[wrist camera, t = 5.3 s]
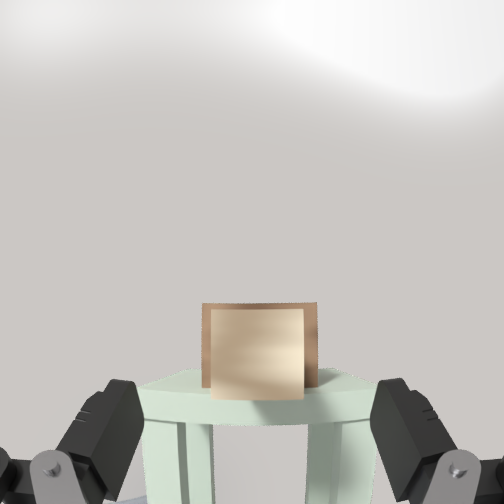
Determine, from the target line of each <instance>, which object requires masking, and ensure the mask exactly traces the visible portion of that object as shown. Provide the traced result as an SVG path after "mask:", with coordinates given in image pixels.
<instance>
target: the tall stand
mask: <svg viewBox="0 0 504 504" xmlns="http://www.w3.org/2000/svg"><path fill="white" fill-rule="evenodd" d="M376 389H377V384H374V383H372V382H369V381H366V380H363V379H360V378H358V377H355V376H352V375H350V374H347V373H344V372H341V371H339V370H337V369H334V368H328V369H327V368H326V369H318V387H316V388H304V399H299V400H213V399H211V388H202V370H199V369H187V370H184V371H181V372H179V373H176V374H173V375H171V376H168V377H165V378H162V379H160V380H157V381H154V382H151V383H148V384H146V385H143V386H140V387H137V392H138V395H139V399H140V403H141V406H142V410H143V413H144V429H143V432H142V435H141V436H142V450H143V463H144V474H145V483H146V492H147V501H148V504H215V487H214V486H215V485H214V458H213V457H214V456H213V424H216V425H217V424H218V425H299V424H308V450H307V475H306V495H305V504H371V498H372V491H373V482H374V473H375V464H376V452H377V445H376V443H375V440H374V437H373V434H372V432H371V428H370V413H371V409H372V405H373V401H374V397H375V393H376Z"/></svg>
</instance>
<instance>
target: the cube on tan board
mask: <svg viewBox="0 0 504 504" xmlns="http://www.w3.org/2000/svg"><path fill="white" fill-rule="evenodd" d="M317 329H318V328H317V303H269V304H268V303H263V304H262V303H258V304H257V303H256V304H220V303H218V304H216V303H215V304H214V303H203V304H202V388H211V399H213V400H299V399H304V388H316V387H318V331H317Z"/></svg>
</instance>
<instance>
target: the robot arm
mask: <svg viewBox="0 0 504 504" xmlns="http://www.w3.org/2000/svg"><path fill="white" fill-rule="evenodd" d="M370 428H371V432H372V434H373V437H374V440H375V443H376V445H377V448H378V451H379V454H380V456H381V459H382V462H383V465H384V467H385V470H386V473H387V475H388V479H389V481H390V484H391V487H392V490H393V493H394V496H395V499H396V502H401V501H405V500H409V502H410V504H504V456H503V458H502V459H494V460H479V459H478V458H477V457H476V456H475V455H474V454H472V453H471V452H468V451H466V450H458V449H457V447H456V445H455V444H454V442H453V440H452V438H451V437H450V435H449V433H448V432H447V430H446V429H445V427H444V425H443V423H442V422H441V420H440V419H438V415H437V414H436V412H435V411H433V407H432V406H431V404H430V402H429V401H428V399H427V398H426V397H425V396H423V395H422V394H421V393H419V392H418V391H417V390H413V391H410V390H409V388H408V386H407V385H406V383H405V381H404V380H403V379H402V378H396V379H388V380H381V381H379V383H378V385H377V389H376V393H375V397H374V401H373V405H372V409H371V413H370ZM143 429H144V413H143V410H142V406H141V403H140V399H139V395H138V392H137V388H136V385H135V383H134V382H132V381H124V380H116V379H112V380H110V382H109V383H108V385H107V387H106V388H105V390H104V392H99V391H98V392H96V393H95V394H94V395H92V396H91V397H90V398H88V399H87V400H86V402H85V403H84V405H83V407H82V408H81V411H80V412H79V413H78V414H77V416H76V418H75V420H74V421H73V422H72V424H71V425H70V427H69V429H68V430H67V432H66V433H65V435H64V437H63V438H62V440H61V441H60V443H59V445H58V446H57V448H56V449H55V450H47V451H44V452H41V453H39V454H38V455H36V456H35V457H34V458H33V460H31V461H30V460H17V459H11V458H10V457H9V455H8V454H7V452H6V451H5V450H4V449H3V448H1V447H0V504H1V502H3V503H4V504H102V503H103V500H104V499H107V500H111V501H115V502H116V501H117V498H118V495H119V492H120V490H121V487H122V484H123V482H124V479H125V476H126V474H127V471H128V469H129V466H130V463H131V460H132V458H133V455H134V453H135V450H136V448H137V445H138V443H139V440H140V437H141V435H142V432H143Z"/></svg>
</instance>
